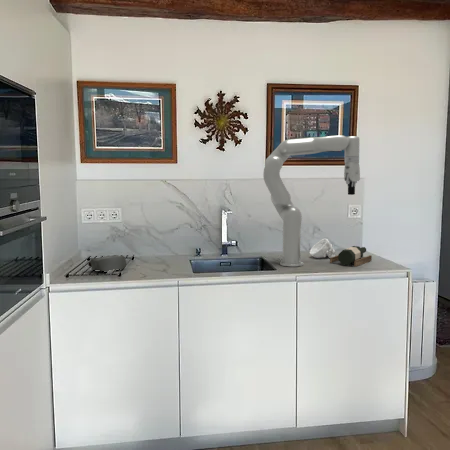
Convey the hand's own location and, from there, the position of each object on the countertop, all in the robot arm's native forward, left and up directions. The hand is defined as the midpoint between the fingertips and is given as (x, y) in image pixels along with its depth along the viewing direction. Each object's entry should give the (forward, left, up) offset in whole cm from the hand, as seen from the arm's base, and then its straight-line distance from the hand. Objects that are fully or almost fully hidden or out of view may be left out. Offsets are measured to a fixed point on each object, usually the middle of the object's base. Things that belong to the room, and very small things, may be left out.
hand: (351, 194), depth 237 cm
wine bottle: (+1, -8, -33) cm, 34 cm away
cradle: (-1, +4, -38) cm, 38 cm away
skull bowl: (-20, +6, -38) cm, 43 cm away
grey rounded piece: (-90, -94, -38) cm, 135 cm away
